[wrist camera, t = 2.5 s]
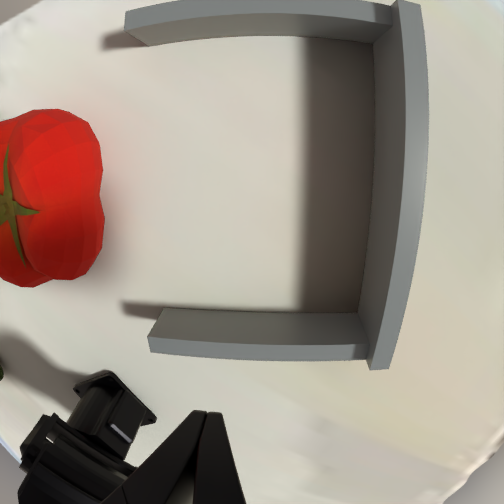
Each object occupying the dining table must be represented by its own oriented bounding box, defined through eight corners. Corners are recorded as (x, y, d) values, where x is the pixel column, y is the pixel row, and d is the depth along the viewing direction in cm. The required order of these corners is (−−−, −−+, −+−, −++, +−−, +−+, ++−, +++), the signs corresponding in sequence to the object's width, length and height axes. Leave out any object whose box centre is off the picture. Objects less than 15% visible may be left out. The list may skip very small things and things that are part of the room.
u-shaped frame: (166, 322, 21) (145, 362, 17) (149, 29, 14) (117, 5, 10) (371, 327, 20) (388, 368, 16) (390, 29, 13) (420, 4, 9)
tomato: (124, 103, 16) (60, 95, 10) (126, 270, 20) (76, 321, 14) (17, 118, 17) (-47, 124, 11) (26, 255, 21) (-27, 290, 14)
